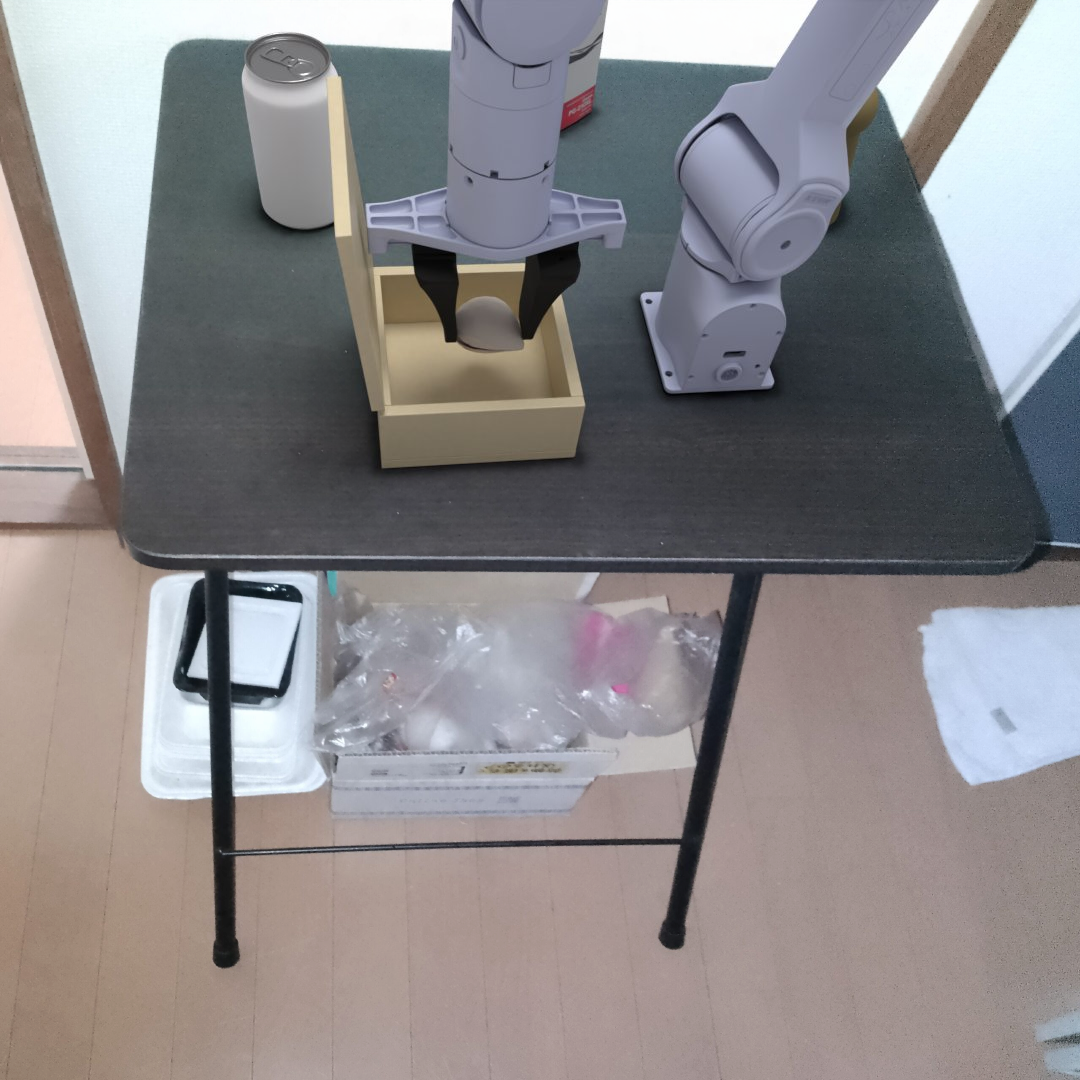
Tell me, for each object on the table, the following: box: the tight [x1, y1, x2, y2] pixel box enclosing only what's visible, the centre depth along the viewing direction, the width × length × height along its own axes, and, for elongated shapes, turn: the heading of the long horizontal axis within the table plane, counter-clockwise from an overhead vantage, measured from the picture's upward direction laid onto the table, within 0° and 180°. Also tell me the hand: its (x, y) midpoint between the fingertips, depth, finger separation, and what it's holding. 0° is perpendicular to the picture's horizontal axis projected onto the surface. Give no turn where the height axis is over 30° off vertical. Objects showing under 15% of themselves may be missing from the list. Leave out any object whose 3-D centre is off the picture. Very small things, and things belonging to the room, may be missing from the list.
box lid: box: [326, 75, 385, 412], centre depth 56 cm, size 13×13×1 cm
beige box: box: [373, 262, 586, 469], centre depth 65 cm, size 13×13×5 cm
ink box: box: [560, 0, 609, 132], centre depth 81 cm, size 8×5×12 cm, turn 47°
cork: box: [829, 87, 880, 226], centre depth 77 cm, size 6×6×11 cm
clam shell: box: [456, 296, 525, 353], centre depth 63 cm, size 4×5×2 cm
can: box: [241, 31, 339, 231], centre depth 71 cm, size 6×6×12 cm
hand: (488, 329), depth 63 cm, fingers closed on clam shell, 4 cm apart
